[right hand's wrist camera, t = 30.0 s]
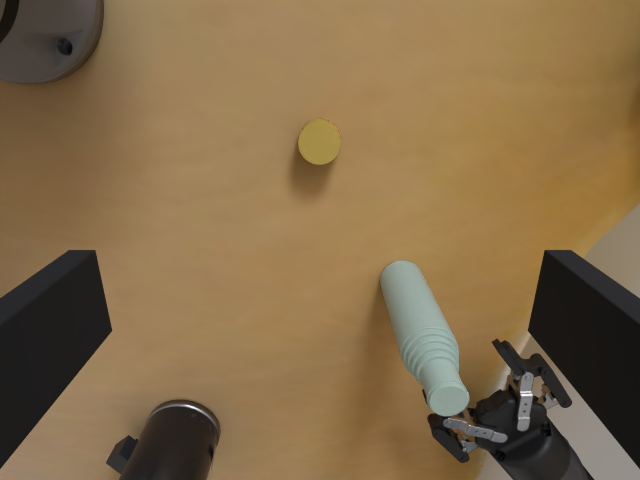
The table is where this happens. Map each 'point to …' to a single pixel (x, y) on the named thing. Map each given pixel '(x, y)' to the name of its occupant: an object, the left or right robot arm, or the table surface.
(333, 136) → the cap
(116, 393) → the table surface
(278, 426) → the table surface
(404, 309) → the bottle
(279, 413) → the table surface
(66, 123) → the table surface
